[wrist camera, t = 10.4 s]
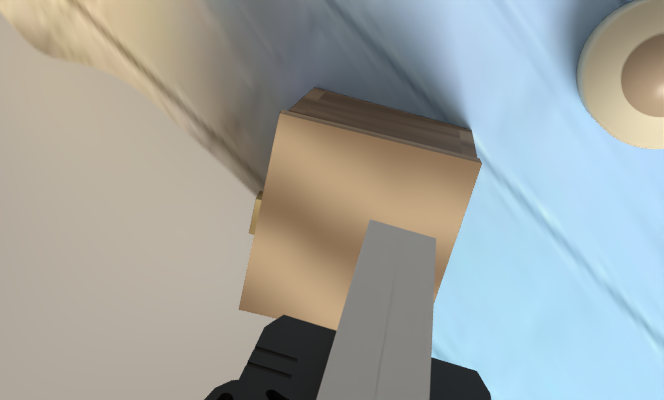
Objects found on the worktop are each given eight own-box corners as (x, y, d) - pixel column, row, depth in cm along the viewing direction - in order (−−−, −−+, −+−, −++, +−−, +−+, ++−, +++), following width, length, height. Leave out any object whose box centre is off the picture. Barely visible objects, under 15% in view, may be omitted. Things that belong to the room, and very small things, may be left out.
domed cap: (608, -21, 34) (620, -21, 32) (755, 14, 33) (780, 18, 31) (556, 118, 37) (564, 128, 35) (690, 153, 36) (708, 166, 34)
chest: (311, 86, 39) (285, 108, 32) (471, 129, 38) (478, 161, 31) (276, 242, 43) (246, 289, 36) (420, 283, 42) (417, 340, 35)
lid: (277, 106, 31) (273, 111, 30) (478, 156, 32) (481, 163, 30) (238, 297, 36) (233, 308, 34) (415, 340, 36) (417, 352, 35)
